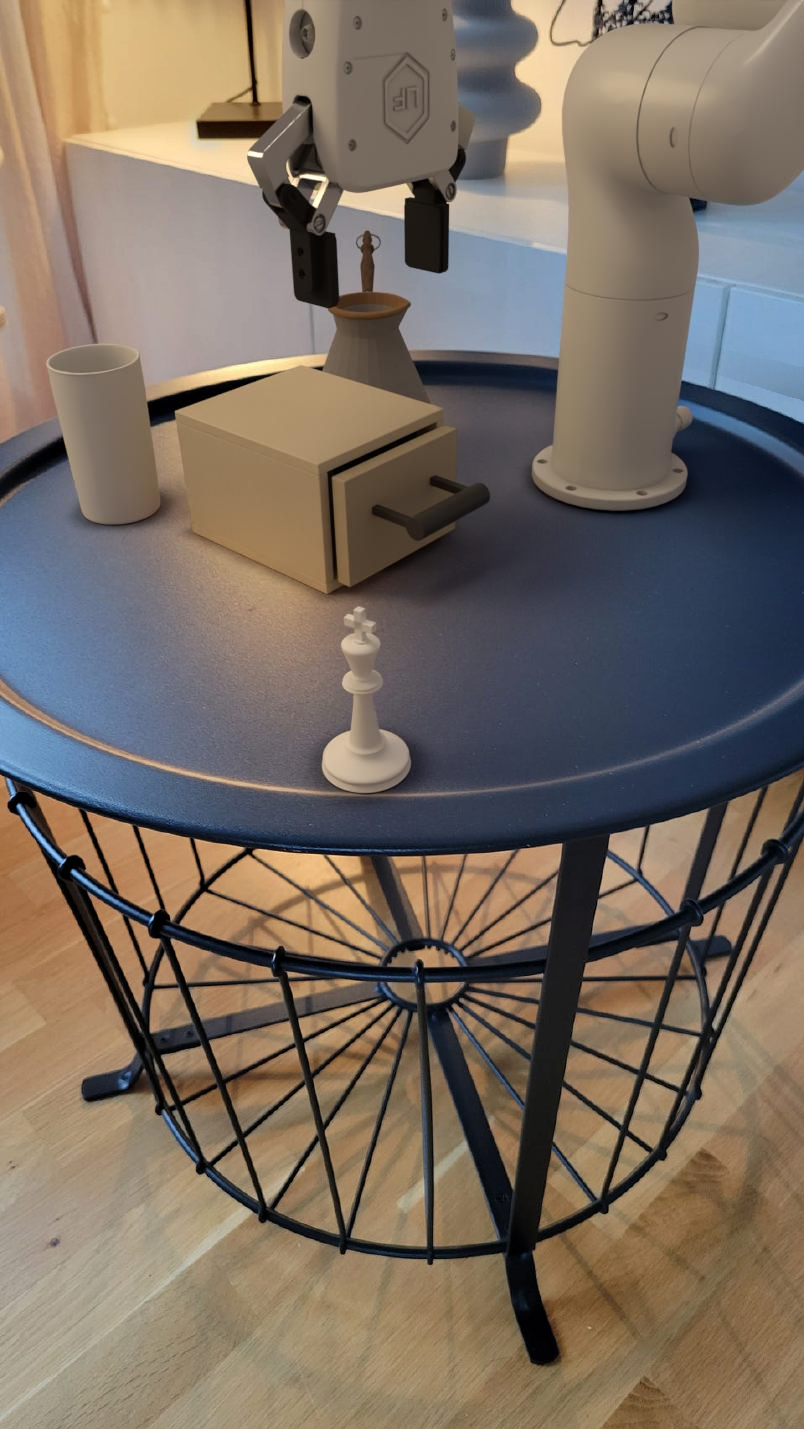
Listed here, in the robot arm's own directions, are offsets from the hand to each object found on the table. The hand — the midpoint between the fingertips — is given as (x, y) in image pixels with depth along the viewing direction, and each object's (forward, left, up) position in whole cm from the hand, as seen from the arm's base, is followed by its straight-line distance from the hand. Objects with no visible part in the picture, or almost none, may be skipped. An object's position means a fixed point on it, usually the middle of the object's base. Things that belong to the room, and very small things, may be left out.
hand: (374, 285), depth 64 cm
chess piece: (+17, +14, -20) cm, 30 cm away
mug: (+5, -24, -20) cm, 31 cm away
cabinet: (-1, -8, -20) cm, 21 cm away
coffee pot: (-18, -18, -20) cm, 32 cm away
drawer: (-1, -3, -19) cm, 19 cm away
